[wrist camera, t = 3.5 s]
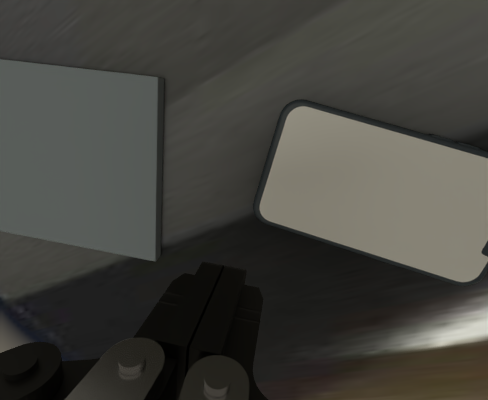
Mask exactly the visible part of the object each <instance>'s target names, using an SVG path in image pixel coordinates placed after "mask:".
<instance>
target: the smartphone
mask: <svg viewBox="0 0 488 400" xmlns="http://www.w3.org/2000/svg"><path fill="white" fill-rule="evenodd" d="M253 210H254V213H255V215H256V217H257V218H258V219H259V220H260V221H261V222H263V223H265V224H268V225H271V226H274V227H277V228H280V229H283V230H286V231H290V232H293V233H296V234H299V235H302V236H305V237H308V238H311V239H314V240H318V241H321V242H324V243H327V244H330V245H333V246H336V247H339V248H342V249H346V250H349V251H352V252H355V253H358V254H361V255H364V256H367V257H370V258H372V259H375V260H378V261H382V262H385V263H388V264H391V265H394V266H398V267H402V268H405V269H408V270H411V271H414V272H417V273H420V274H423V275H426V276H430V277H433V278H436V279H439V280H442V281H445V282H448V283H451V284H454V285H458V286H469V285H473V284H475V283H477V282H479V281H480V280H481V279H482V278H483V277H484V276H485V274H486V273H487V271H488V152H486V151H483V150H480V148H479V147H475V146H472V145H468V144H465V143H461V142H453V140H451V139H447V138H443V137H440V136H436V135H433V134H429V135H427V134H423V133H420V132H416V131H413V130H409V129H406V128H402V127H398V126H395V125H391V124H388V123H384V122H381V121H377V120H374V119H370V118H367V117H363V116H360V115H356V114H353V113H349V112H346V111H342V110H339V109H335V108H332V107H328V106H325V105H321V104H318V103H314V102H311V101H307V100H295V101H292V102H290V103H289V104H287V105H286V106H285V107H284V108H283V110H282V112H281V114H280V116H279V120H278V123H277V126H276V130H275V133H274V136H273V140H272V143H271V146H270V149H269V153H268V156H267V159H266V163H265V166H264V169H263V173H262V176H261V179H260V183H259V186H258V189H257V192H256V196H255V199H254V203H253Z"/></svg>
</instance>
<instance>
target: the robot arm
mask: <svg viewBox="0 0 488 400" xmlns="http://www.w3.org/2000/svg"><path fill="white" fill-rule="evenodd" d="M245 278H246V270H245V269H240V268H234V267H229V266H225V267H224V266H223V265H218V264H213V263H208V262H202V264H201V265H200V267H199V269H198V270H197V272H196V274H195V275H191V274H186V273H184V274H183V275H181V276H180V277H178V278H177V279H175V280H173V281H172V283H171V284H170V286H169V287H168V289H167V290H166V292H165V293H164V294H163V296H162V297H161V299H160V300H159V303H157V304H156V306H155V307H154V309H153V310H152V312H151V313H150V314H149V316H148V317H147V319H146V320H145V322H144V323H143V324H142V326H141V327H140V329H139V330H138V332H137V333H136V335H135V336H134V337H133V338H130V339H127V340H124V341H121V342H119V343H117V344H116V345H114V346H113V347H111V348H110V349H109V350H108V351H107V352H106V353H105V354H104V355H103V356H102V357H101V358H98V359H91V360H77V361H62V358H61V352H60V350H59V349H58V348H57V347H56V346H55V345H53V344H50V343H46V342H34V343H28V344H24V345H21V346H18V347H15V348H13V349H10V350H7V351H5V352H2V353H0V400H268V399H267V398H266V397H265V396H264V395H263V394H262V393H261V392H260V390H259V389H258V387H257V385H256V383H255V381H254V377H253V361H254V355H255V349H256V342H257V336H258V330H259V323H260V317H261V311H262V304H263V297H262V295H261V292H260V290H259V288H257V287H252V286H247V285H245Z"/></svg>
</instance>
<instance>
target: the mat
mask: <svg viewBox="0 0 488 400" xmlns="http://www.w3.org/2000/svg"><path fill="white" fill-rule="evenodd" d="M163 118H164V78H159V77H152V76H143V75H134V74H125V73H117V72H108V71H99V70H90V69H81V68H73V67H64V66H55V65H46V64H38V63H29V62H20V61H11V60H2V59H0V231H3V232H8V233H13V234H18V235H23V236H28V237H33V238H39V239H44V240H49V241H54V242H59V243H64V244H69V245H74V246H79V247H84V248H90V249H95V250H100V251H105V252H110V253H115V254H120V255H125V256H130V257H135V258H140V259H146V260H151V261H156V260H157V259H158V258H159V257H160V256H161V214H162V166H163Z"/></svg>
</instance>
